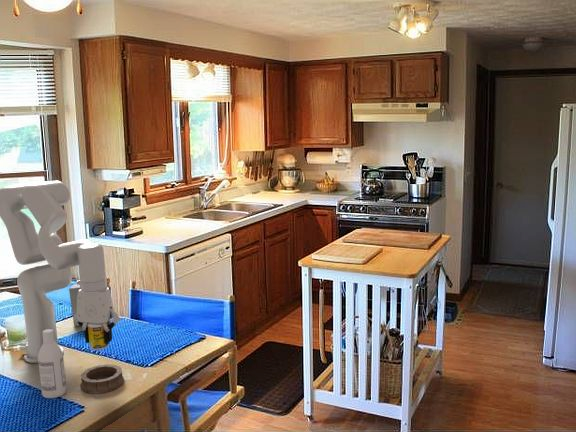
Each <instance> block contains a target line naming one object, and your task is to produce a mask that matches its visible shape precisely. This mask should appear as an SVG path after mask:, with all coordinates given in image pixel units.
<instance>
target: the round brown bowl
mask: <svg viewBox="0 0 576 432" xmlns="http://www.w3.org/2000/svg"><path fill="white" fill-rule="evenodd" d="M80 380H81V381H80V386H79V387H80V390H81V391H82V392H83V393H85V394H88V395H101V394H106V393H110V392H113V391H116V390H117V389H120V388H121V387H122V386H123V385H124V383H125V377H124V376H123V369H122V366H119V365H116V364H110V363H109V364H108V363H107V364H106V363H105V364H99V365H95V366H91V367H89V368H87V369H85V370H84V371H83V372H82V373H81V375H80Z"/></svg>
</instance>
